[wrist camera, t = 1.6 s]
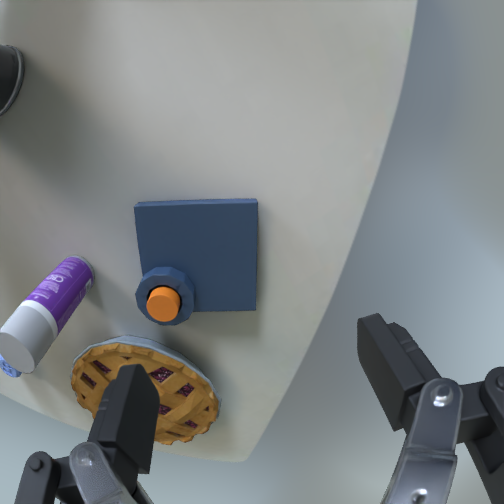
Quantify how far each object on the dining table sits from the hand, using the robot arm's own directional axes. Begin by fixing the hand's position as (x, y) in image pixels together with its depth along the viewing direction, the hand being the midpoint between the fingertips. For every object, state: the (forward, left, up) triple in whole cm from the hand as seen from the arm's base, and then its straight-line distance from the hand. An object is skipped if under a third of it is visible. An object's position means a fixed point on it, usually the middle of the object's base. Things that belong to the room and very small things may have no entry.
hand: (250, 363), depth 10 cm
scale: (-4, -5, -22) cm, 22 cm away
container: (-19, -7, -22) cm, 30 cm away
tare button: (-7, -8, -18) cm, 22 cm away
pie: (-14, -25, -22) cm, 36 cm away
